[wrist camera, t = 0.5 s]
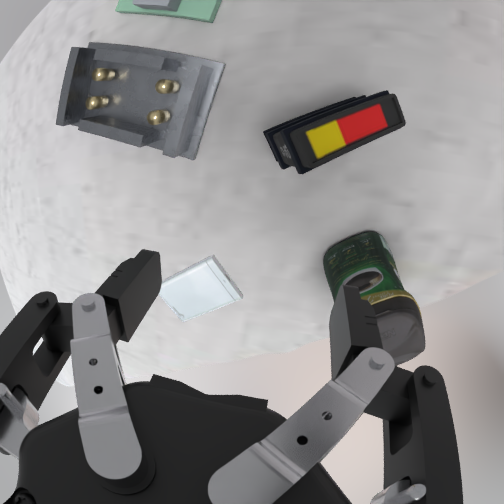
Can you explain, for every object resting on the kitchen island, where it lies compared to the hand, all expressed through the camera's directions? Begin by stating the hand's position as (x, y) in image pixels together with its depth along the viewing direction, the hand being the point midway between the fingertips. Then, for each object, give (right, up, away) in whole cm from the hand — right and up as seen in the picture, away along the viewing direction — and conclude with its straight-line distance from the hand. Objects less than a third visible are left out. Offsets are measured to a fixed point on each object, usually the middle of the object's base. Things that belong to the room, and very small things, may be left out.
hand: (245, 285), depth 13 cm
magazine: (+9, +17, +20) cm, 28 cm away
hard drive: (-8, -4, +35) cm, 36 cm away
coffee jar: (+15, +1, +28) cm, 32 cm away
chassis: (-15, +22, +21) cm, 34 cm away
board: (-10, +34, +14) cm, 38 cm away
